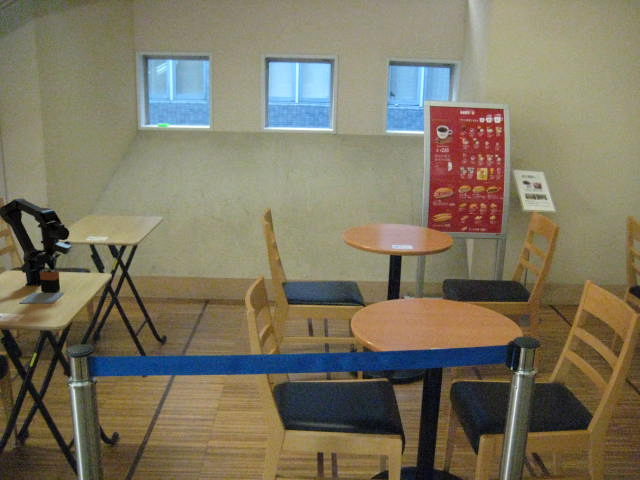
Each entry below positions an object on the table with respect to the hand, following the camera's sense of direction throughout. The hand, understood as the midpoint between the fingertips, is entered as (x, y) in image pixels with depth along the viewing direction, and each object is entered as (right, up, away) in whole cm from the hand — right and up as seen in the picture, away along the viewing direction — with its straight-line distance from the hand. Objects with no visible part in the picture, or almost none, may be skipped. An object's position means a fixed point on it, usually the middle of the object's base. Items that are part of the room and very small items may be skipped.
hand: (53, 271), depth 262 cm
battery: (0, -9, -3) cm, 9 cm away
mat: (0, -11, -11) cm, 16 cm away
